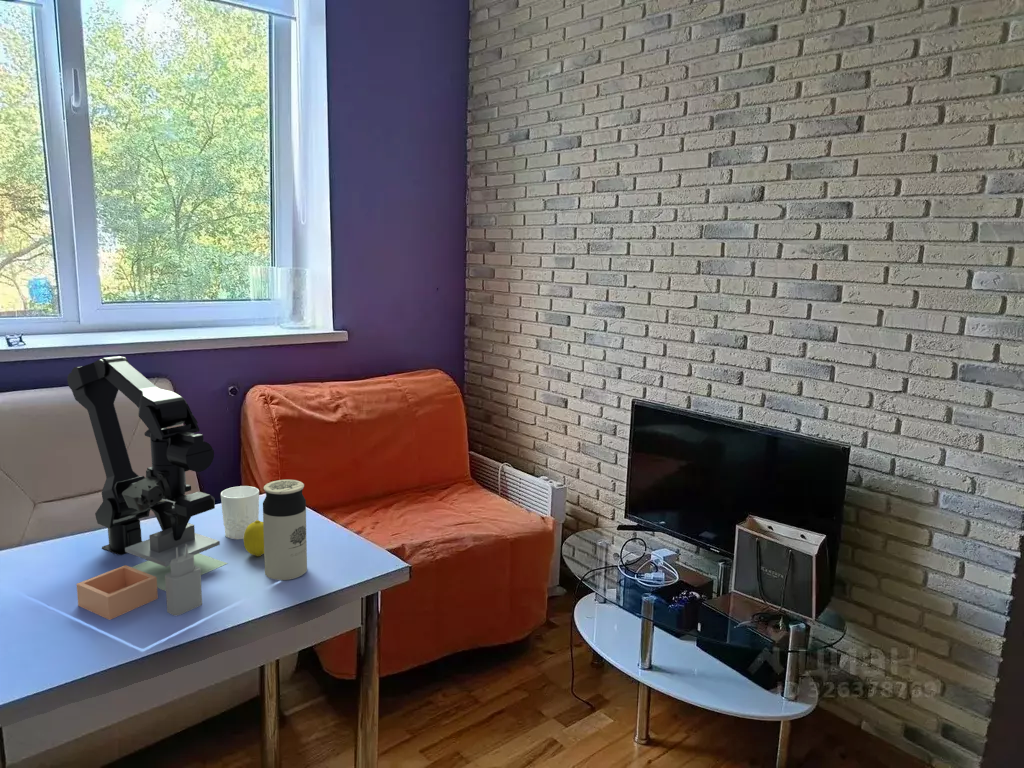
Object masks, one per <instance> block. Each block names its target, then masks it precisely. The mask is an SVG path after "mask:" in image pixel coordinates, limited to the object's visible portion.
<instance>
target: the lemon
mask: <svg viewBox="0 0 1024 768" xmlns="http://www.w3.org/2000/svg"><path fill="white" fill-rule="evenodd" d="M243 545H244V548H245V550H246V552H247V553H248V554H250V555H252V556H255V557H257V558H258V557H261V556H262V555H264V527H263V521H262V520H261V521H260V520H259V519H258V520H256V521H255V522H253V523H251V524H250V525H248V527H247V528H246V530H245V533H244V539H243Z"/></svg>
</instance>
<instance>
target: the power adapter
mask: <svg viewBox="0 0 1024 768" xmlns="http://www.w3.org/2000/svg"><path fill="white" fill-rule="evenodd" d="M170 565H171V572H170V573H167V574H166V575H165V582H166V591H165V596H166V613H168V614H170V615H172V616H175V617H178V616H182V615H183V614H185V613H187V612H190V611H191V610H194V609H197V608H199V607H201V606H202V605H203V595H202V575H201V571H200V567H197V566H195V565H194V554H188V549H187V544H186V555H183V556H181V557H178V548H177V547H176V558H175V559H173V560H171V562H170Z"/></svg>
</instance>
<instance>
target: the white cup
mask: <svg viewBox="0 0 1024 768" xmlns="http://www.w3.org/2000/svg"><path fill="white" fill-rule="evenodd" d="M220 500H221V501H220V502H221V513H222V520H223V521H222V522H223V526H224V533H225V534H224V535H225V537H226V538H227V539H231V540H244V533H245V530H246V528H247V527H248V525H250V524H251V523H253V522H255V521H256V520H259V516H260V515H259V513H260V510H259V509H260V508H259V507H260V504H259V503H260V490H259V488H257V487H255V486H249V485H240V486H238V485H237V486H233V487H229V488H226V489H224V490H222V491H221V492H220Z"/></svg>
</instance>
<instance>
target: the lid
mask: <svg viewBox="0 0 1024 768" xmlns="http://www.w3.org/2000/svg"><path fill="white" fill-rule="evenodd" d="M195 531H196V530H195V524H193V523H190V522H188V524H187V526H186V528H185V530H184V533H183V535H182V537H181V539H180V540H177V541H175V540H174V536H173V531H172V527H171V528H168V529H165V530H162V529H161V530H160V531H157V532H155V533H154V532H153V533H152V534H149V538H148V539H146V540H142V541H143V542H140V543H137V544H134V545H132V546H129V547H126V548H125V552H127V553H126V554H130V555H133V556H135V557H139V558H140V559H144V560H146V561H148V560H149V561H151V562H154V563H157V564H160V565H162V566H165V567H166V566H169V565H170V562H171V560H173V559H175V558H176V547H177V548H178V557H181V556H183V555H186V544H187V549H188V554H194V555H196V554H198V553H200V554H202V553H203V552H206V551H207V550H210V549H213V548H215V547H217V546H220V545H221V543H220V542H221V541H220V540H218V539H215V538H212V537H209V536H205V535H202V534H199V533H197V532H195Z"/></svg>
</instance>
